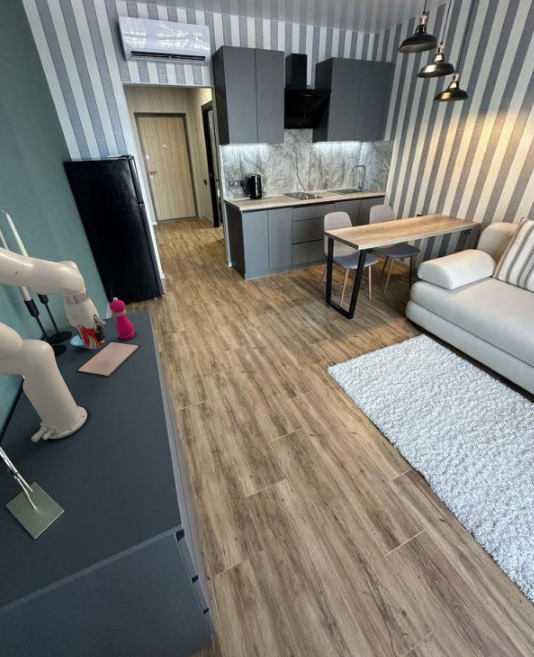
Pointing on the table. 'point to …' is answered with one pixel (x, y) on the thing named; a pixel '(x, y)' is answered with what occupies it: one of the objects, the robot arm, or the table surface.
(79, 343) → the light blue tiered piece
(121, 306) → the pepper mill
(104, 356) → the pink rectangular board
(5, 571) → the table surface
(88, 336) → the soda can
